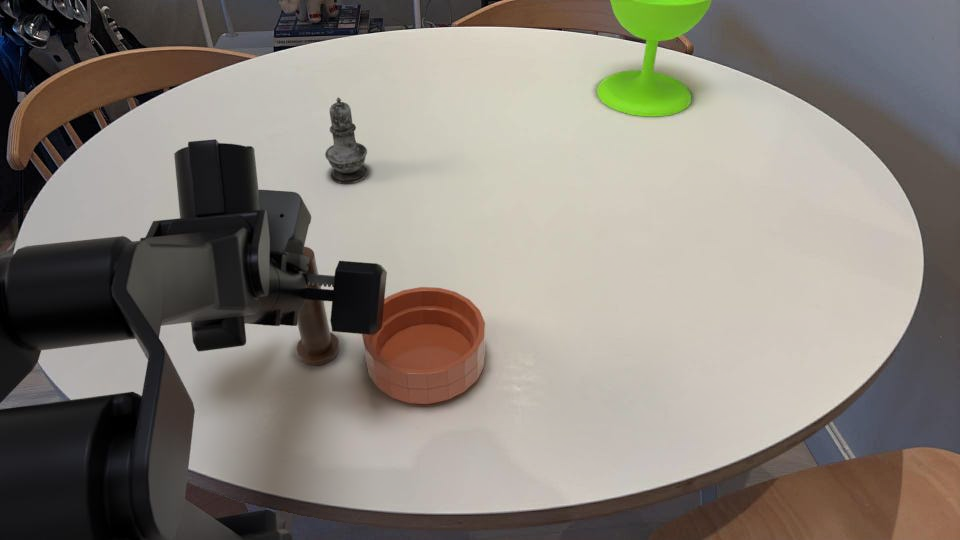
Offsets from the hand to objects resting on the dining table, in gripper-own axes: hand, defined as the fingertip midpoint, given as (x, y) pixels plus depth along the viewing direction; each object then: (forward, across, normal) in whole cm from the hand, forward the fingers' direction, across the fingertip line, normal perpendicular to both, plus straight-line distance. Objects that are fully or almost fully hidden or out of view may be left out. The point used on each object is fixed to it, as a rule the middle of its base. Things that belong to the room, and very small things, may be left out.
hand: (309, 295), depth 70 cm
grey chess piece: (+29, +6, -18) cm, 35 cm away
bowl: (+4, -12, +6) cm, 14 cm away
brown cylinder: (+5, 0, +6) cm, 7 cm away
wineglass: (+51, -38, -40) cm, 75 cm away
